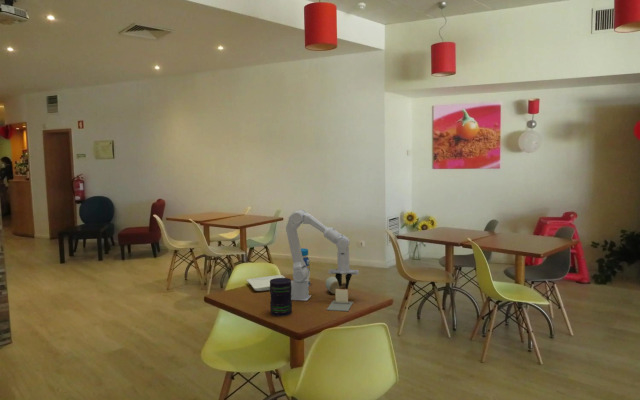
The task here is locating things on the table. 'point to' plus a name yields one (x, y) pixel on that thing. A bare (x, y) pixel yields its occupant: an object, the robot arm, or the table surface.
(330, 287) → the ceramic mug
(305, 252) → the beverage bottle
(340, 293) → the tile
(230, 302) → the table surface
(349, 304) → the mat
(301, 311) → the table surface
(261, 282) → the salad plate
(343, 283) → the bar
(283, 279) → the storage jar
